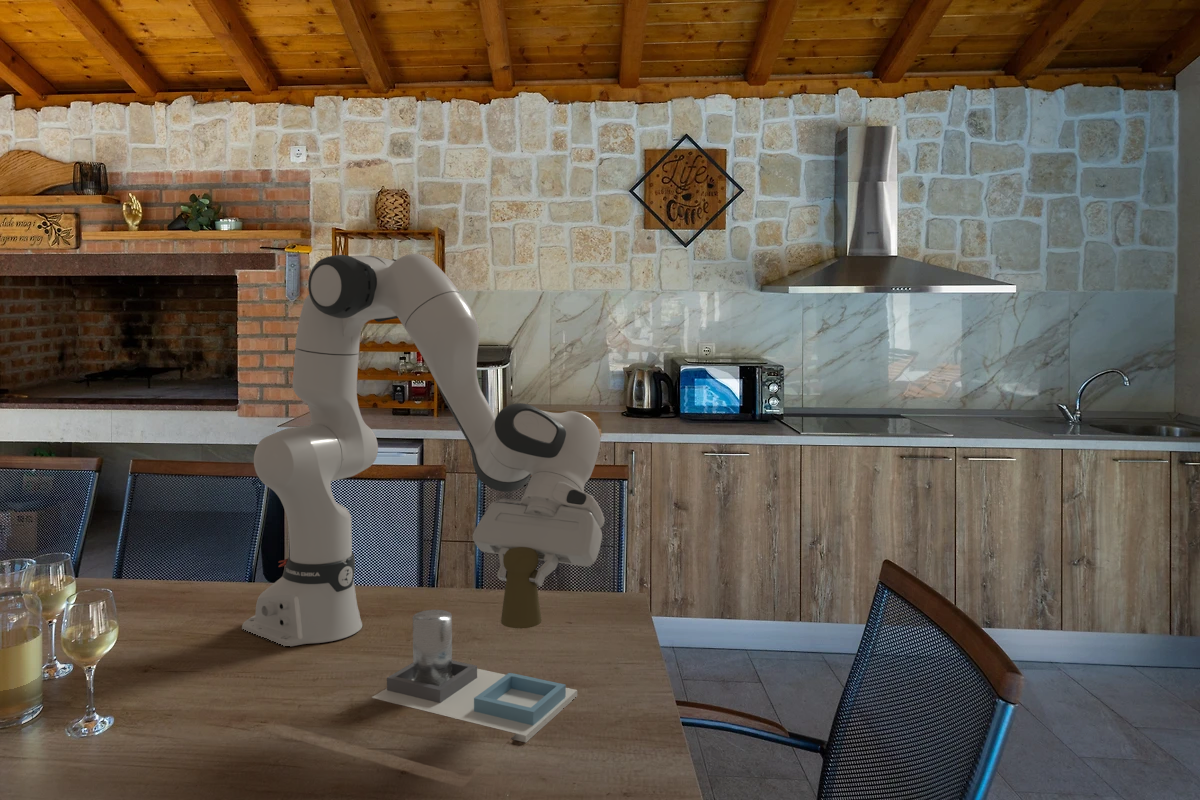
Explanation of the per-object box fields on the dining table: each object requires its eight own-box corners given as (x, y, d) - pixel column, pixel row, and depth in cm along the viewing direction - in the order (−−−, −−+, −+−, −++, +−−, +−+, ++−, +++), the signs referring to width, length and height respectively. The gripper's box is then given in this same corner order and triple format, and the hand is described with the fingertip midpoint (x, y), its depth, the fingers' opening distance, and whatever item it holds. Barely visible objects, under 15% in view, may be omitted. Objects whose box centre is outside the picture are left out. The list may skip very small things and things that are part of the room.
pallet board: (371, 703, 126) (371, 684, 126) (434, 665, 140) (434, 647, 140) (525, 742, 115) (525, 721, 114) (577, 696, 129) (577, 677, 129)
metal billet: (405, 687, 129) (404, 619, 128) (428, 673, 135) (428, 607, 134) (437, 695, 127) (436, 625, 126) (459, 680, 132) (459, 613, 131)
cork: (534, 630, 119) (534, 555, 118) (495, 626, 121) (494, 552, 120) (546, 615, 125) (546, 544, 124) (508, 612, 127) (508, 542, 126)
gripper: (486, 485, 132) (451, 561, 124) (602, 498, 123) (572, 580, 115) (501, 507, 136) (468, 582, 128) (614, 521, 128) (586, 601, 120)
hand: (518, 581), depth 122 cm, fingers closed on cork, 4 cm apart
